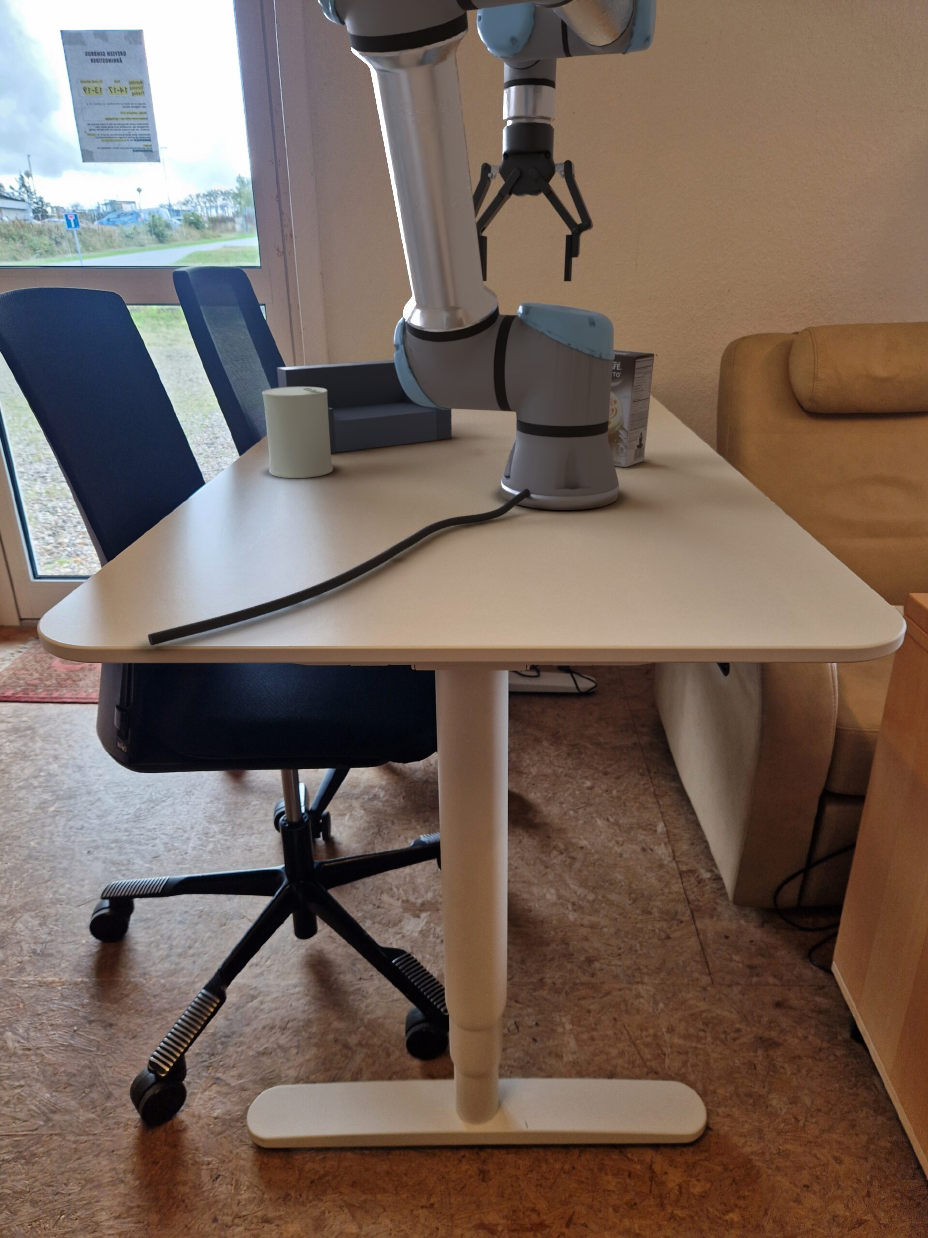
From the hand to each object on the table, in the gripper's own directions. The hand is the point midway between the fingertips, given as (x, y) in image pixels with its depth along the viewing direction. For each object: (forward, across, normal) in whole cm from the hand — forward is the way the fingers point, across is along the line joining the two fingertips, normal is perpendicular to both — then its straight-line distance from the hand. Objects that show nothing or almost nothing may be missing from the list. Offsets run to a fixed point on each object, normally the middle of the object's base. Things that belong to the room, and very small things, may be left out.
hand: (524, 281), depth 128 cm
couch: (+26, +27, +1) cm, 37 cm away
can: (+26, +27, +27) cm, 46 cm away
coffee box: (+26, -16, +8) cm, 31 cm away
